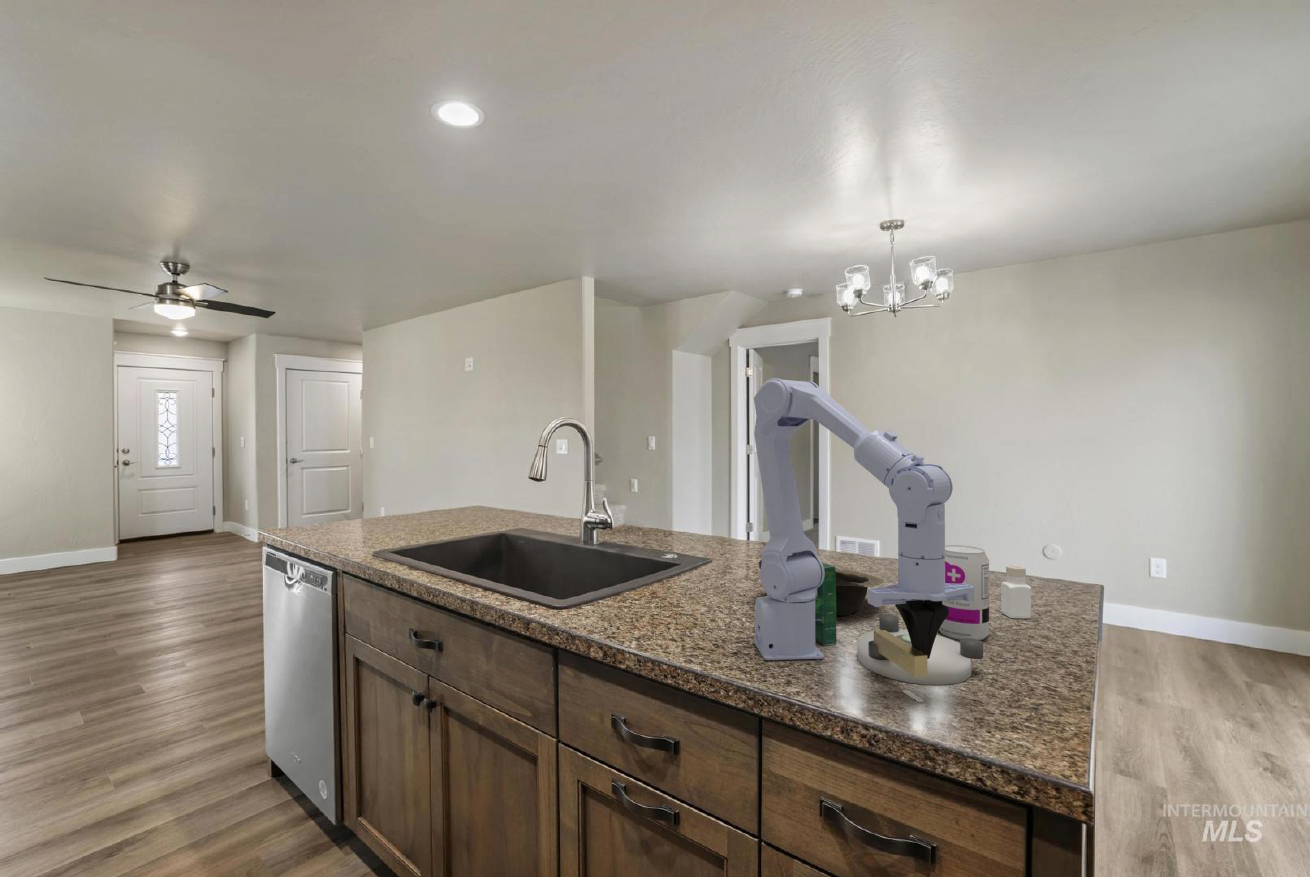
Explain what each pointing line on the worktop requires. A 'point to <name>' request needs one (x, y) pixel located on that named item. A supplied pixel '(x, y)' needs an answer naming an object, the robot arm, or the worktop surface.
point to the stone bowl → (851, 589)
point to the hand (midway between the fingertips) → (921, 656)
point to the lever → (898, 653)
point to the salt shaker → (1016, 593)
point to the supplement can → (974, 571)
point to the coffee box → (826, 608)
